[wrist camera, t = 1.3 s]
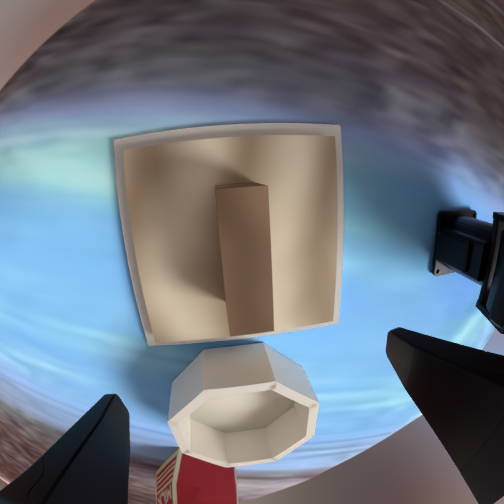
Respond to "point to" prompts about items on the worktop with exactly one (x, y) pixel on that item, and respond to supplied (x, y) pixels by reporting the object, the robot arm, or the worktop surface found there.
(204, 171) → the lid
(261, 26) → the worktop surface
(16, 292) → the worktop surface
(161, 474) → the milk carton
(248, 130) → the tray
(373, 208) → the worktop surface
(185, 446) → the bowl
